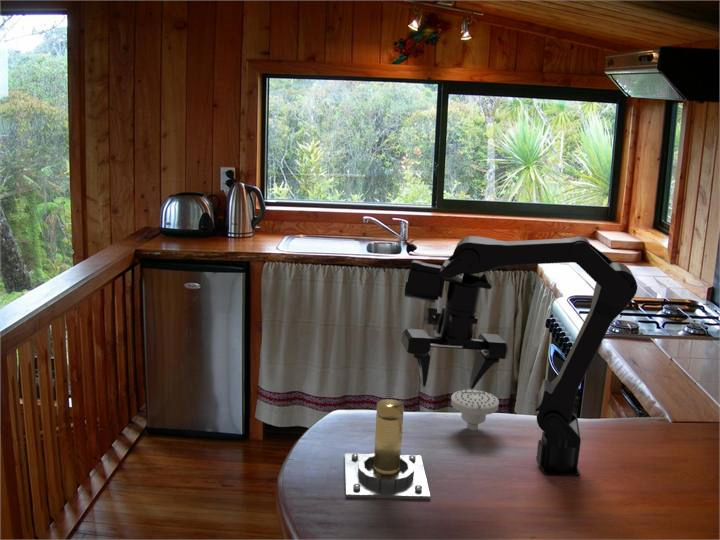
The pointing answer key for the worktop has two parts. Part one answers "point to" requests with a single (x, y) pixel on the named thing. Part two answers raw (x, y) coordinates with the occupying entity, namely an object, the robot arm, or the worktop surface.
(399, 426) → the brass cylinder
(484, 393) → the showerhead
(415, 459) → the floor flange
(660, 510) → the worktop surface
